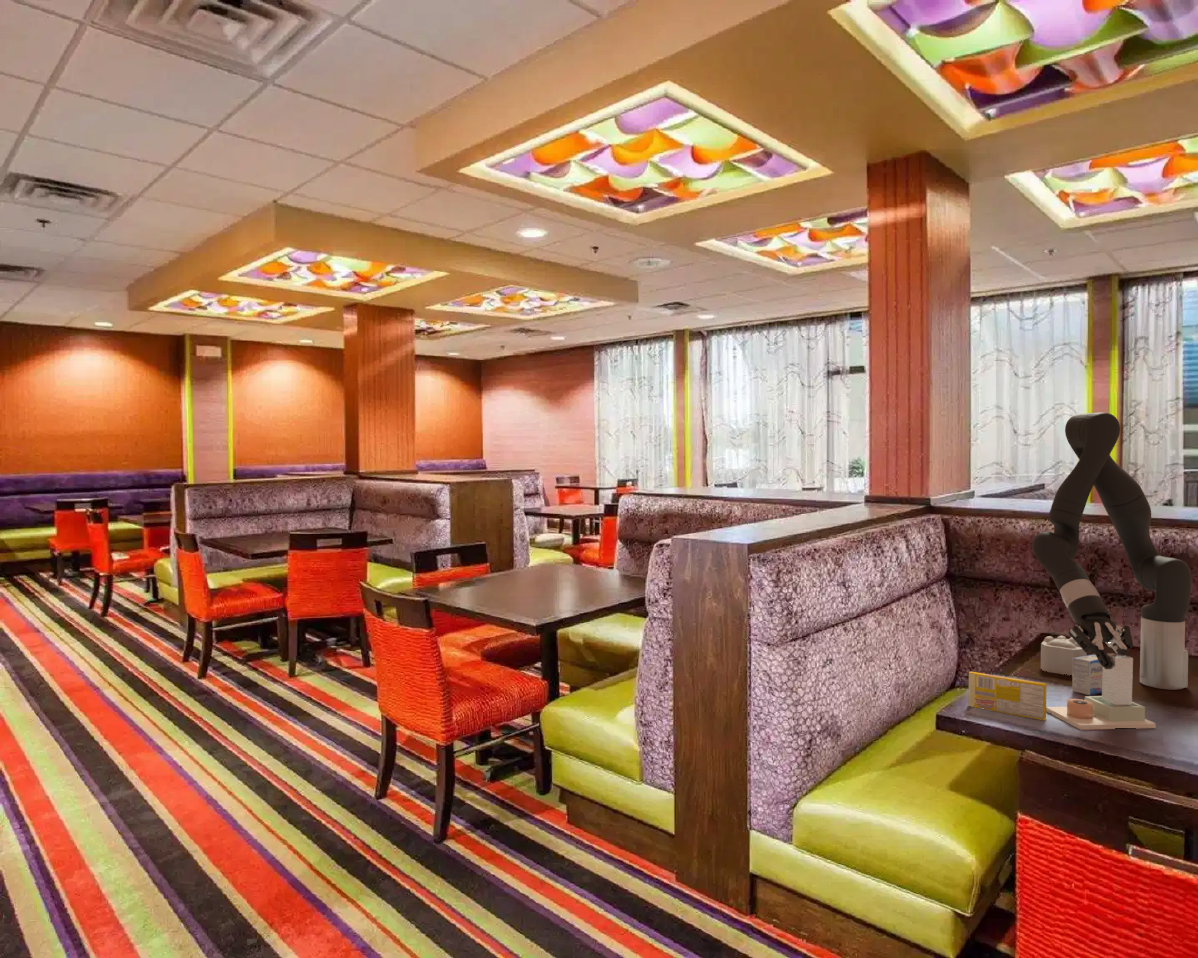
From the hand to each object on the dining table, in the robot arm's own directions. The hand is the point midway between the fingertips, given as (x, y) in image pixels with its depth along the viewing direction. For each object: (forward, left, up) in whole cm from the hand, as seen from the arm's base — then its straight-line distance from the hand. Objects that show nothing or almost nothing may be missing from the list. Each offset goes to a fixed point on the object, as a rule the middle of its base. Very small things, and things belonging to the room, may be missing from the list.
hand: (1119, 666), depth 174 cm
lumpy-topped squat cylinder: (-16, -42, -13) cm, 46 cm away
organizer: (+3, -1, -12) cm, 13 cm away
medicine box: (-9, -21, -13) cm, 26 cm away
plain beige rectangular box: (0, 0, -10) cm, 10 cm away
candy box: (+21, -7, -13) cm, 26 cm away
